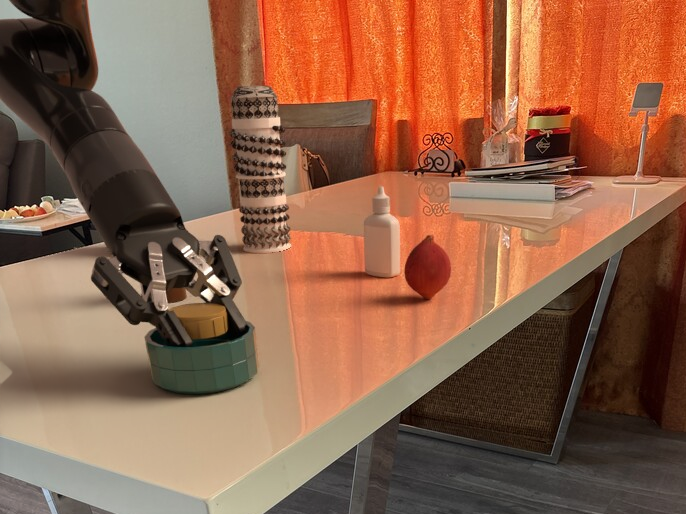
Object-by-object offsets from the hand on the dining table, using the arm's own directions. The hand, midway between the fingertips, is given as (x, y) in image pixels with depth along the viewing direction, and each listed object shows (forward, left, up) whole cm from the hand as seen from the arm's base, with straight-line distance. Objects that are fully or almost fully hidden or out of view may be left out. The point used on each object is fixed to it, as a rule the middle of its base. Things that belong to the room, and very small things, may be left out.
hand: (213, 343), depth 65 cm
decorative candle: (-1, +66, -4) cm, 67 cm away
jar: (-12, +33, -4) cm, 35 cm away
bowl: (-1, +1, -4) cm, 4 cm away
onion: (+23, +27, -4) cm, 36 cm away
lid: (-1, +2, +2) cm, 3 cm away
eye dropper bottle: (+18, +42, -4) cm, 46 cm away
